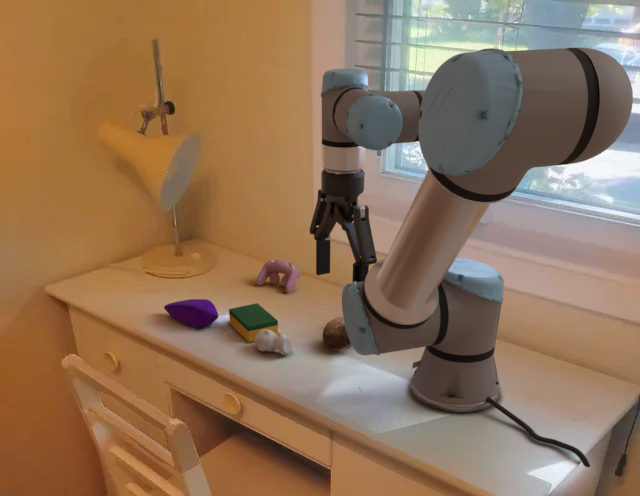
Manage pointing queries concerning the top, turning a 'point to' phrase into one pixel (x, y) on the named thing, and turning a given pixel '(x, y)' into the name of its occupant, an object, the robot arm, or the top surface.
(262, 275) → the video game controller
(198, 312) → the purple rounded wedge
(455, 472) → the top surface
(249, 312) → the sponge
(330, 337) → the brown round lump
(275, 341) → the smooth white sculpture
